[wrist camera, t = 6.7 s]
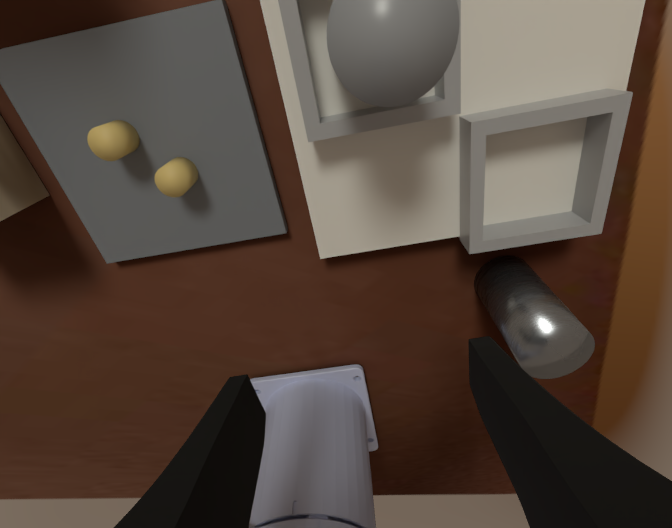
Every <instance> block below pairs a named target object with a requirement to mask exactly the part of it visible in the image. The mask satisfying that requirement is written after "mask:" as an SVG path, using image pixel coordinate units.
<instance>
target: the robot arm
mask: <svg viewBox="0 0 672 528" xmlns="http://www.w3.org/2000/svg"><path fill="white" fill-rule="evenodd" d="M355 376H359V377H355ZM469 376H470V386H471V389H472V392H473V395H474V398H475V401H476V404H477V407H478V410H479V413H480V415H481V418H482V420H483V422H484V424H485V426H486V429H487V431H488V433H489V435H490V437H491V439H492V441H493V444H494V446H495V448H496V450H497V452H498V454H499V456H500V459H501V461H502V463H503V465H504V467H505V469H506V471H507V473H508V476H509V478H510V480H511V482H512V484H513V486H514V488H515V491H516V493H517V495H518V498H519V500H520V502H521V505H522V507H523V510H524V513H525V515H526V518H527V521H528V523H529V526H530V528H672V481H670V480H669V479H667V478H666V477H664V476H662V475H661V474H659V473H658V472H656V471H655V470H653V469H651V468H650V467H648V466H647V465H645V464H644V463H642V462H640V461H639V460H637V459H636V458H635V457H633V456H632V455H630V454H629V453H627V452H626V451H624V450H623V449H621V448H620V447H618V446H617V445H616V444H614V443H613V442H611V441H610V440H609V439H607V438H606V437H604V436H603V435H602V434H600V433H599V432H597V431H596V430H595V429H594V428H592V427H591V426H590V425H588V424H587V423H586V422H584V421H583V420H582V419H580V418H579V417H578V416H577V415H575V414H574V413H573V412H572V411H570V410H569V409H568V408H567V407H566V406H564V405H563V404H562V403H561V402H559V401H558V400H557V399H556V398H555V397H553V396H552V395H551V394H550V393H549V392H548V391H547V390H545V389H544V388H543V387H542V386H541V385H540V384H539V383H538V382H536V381H535V380H534V379H533V378H532V377H531V376H530V375H529V374H528V373H526V372H525V371H524V370H523V369H522V368H521V367H520V366H519V365H518V364H517V363H516V362H515V361H514V360H513V359H512V358H511V357H510V356H509V355H508V354H507V353H506V352H505V351H504V350H503V349H502V348H501V347H500V346H499V345H498V344H497V343H496V342H495V341H494V340H493V339H492V338H491V337H489V336H487V337H480V338H474V339H469ZM377 449H378V441H377V436H376V431H375V426H374V421H373V416H372V411H371V406H370V401H369V396H368V391H367V386H366V381H365V376H364V371H363V368H362V366H360V365H356V364H355V365H347V366H340V367H333V368H325V369H318V370H311V371H303V372H296V373H289V374H281V375H274V376H267V377H260V378H253V379H251V380H250V379H249V377H248V375H241V376H234V377H230V378H229V379H228V381H227V382H226V384H225V385H224V386H223V388H222V389H221V391H220V392H219V394H218V395H217V397H216V398H215V400H214V401H213V403H212V404H211V406H210V407H209V409H208V410H207V412H206V413H205V415H204V416H203V418H202V419H201V421H200V422H199V424H198V425H197V426H196V428H195V429H194V431H193V432H192V434H191V435H190V436H189V438H188V439H187V441H186V442H185V443H184V445H183V446H182V447H181V449H180V450H179V451H178V453H177V454H176V455H175V457H174V458H173V459H172V461H171V462H170V463H169V465H168V466H167V467H166V469H165V470H164V471H163V472H162V474H161V475H160V476H159V477H158V479H157V480H156V481H155V482H154V484H153V485H152V486H151V487H150V488H149V489H148V491H147V492H146V493H145V494H144V495H143V496H142V498H141V499H140V500H139V501H138V502H137V503H136V504H135V506H134V507H133V508H132V509H131V510H130V511H129V512H128V513H127V514H126V515H125V516H124V517H123V519H122V520H121V521H120V522H119V523H118V524H117V525H116V526H115V527H114V528H376V524H375V514H374V503H373V491H372V481H371V470H370V459H369V451H375V450H377Z"/></svg>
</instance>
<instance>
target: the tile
mask: <svg viewBox="0 0 672 528" xmlns="http://www.w3.org/2000/svg"><path fill="white" fill-rule="evenodd" d="M0 84H1V85H2V87H3V89H4V90H5V92H6V94H7V96H8V97H9V99H10V101H11V102H12V104H13V106H14V107H15V109H16V111H17V112H18V114H19V116H20V117H21V119H22V121H23V123H24V124H25V126H26V128H27V129H28V131H29V133H30V134H31V136H32V138H33V139H34V141H35V143H36V144H37V146H38V148H39V150H40V151H41V153H42V155H43V156H44V158H45V160H46V161H47V163H48V165H49V166H50V168H51V170H52V171H53V173H54V175H55V177H56V178H57V180H58V182H59V183H60V185H61V187H62V188H63V190H64V192H65V193H66V195H67V197H68V198H69V200H70V202H71V204H72V205H73V207H74V209H75V210H76V212H77V214H78V215H79V217H80V219H81V220H82V222H83V224H84V226H85V227H86V229H87V231H88V232H89V234H90V236H91V237H92V239H93V241H94V242H95V244H96V246H97V247H98V249H99V251H100V253H101V254H102V256H103V258H104V259H105V261H106V263H113V262H119V261H125V260H131V259H136V258H142V257H148V256H154V255H160V254H166V253H172V252H178V251H184V250H190V249H196V248H202V247H208V246H213V245H219V244H225V243H231V242H237V241H243V240H249V239H255V238H261V237H267V236H273V235H279V234H284V233H287V229H288V227H287V223H286V220H285V216H284V212H283V209H282V205H281V202H280V198H279V194H278V191H277V187H276V183H275V180H274V176H273V172H272V169H271V165H270V161H269V158H268V154H267V150H266V147H265V143H264V139H263V136H262V132H261V128H260V125H259V121H258V118H257V114H256V110H255V107H254V103H253V99H252V96H251V92H250V88H249V85H248V81H247V77H246V74H245V70H244V66H243V63H242V59H241V55H240V52H239V48H238V45H237V41H236V37H235V34H234V30H233V26H232V23H231V19H230V15H229V12H228V8H227V4H226V1H225V0H215V1H211V2H206V3H202V4H197V5H193V6H188V7H184V8H180V9H175V10H171V11H166V12H162V13H157V14H153V15H149V16H144V17H140V18H135V19H131V20H127V21H122V22H118V23H113V24H109V25H104V26H100V27H96V28H91V29H87V30H82V31H78V32H73V33H69V34H65V35H60V36H56V37H51V38H47V39H43V40H38V41H34V42H29V43H25V44H20V45H16V46H12V47H7V48H3V49H0Z"/></svg>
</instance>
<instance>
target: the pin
mask: <svg viewBox="0 0 672 528" xmlns="http://www.w3.org/2000/svg"><path fill="white" fill-rule="evenodd" d="M474 287H475V290H476V292H477V294H478V296H479V297H480V299H481V301H482V303H483V304H484V306H485V308H486V309H487V311H488V313H489V314H490V316H491V318H492V319H493V321H494V323H495V324H496V326H497V328H498V330H499V331H500V333H501V335H502V336H503V338H504V340H505V341H506V343H507V345H508V346H509V348H510V350H511V352H512V353H513V355H514V357H515V358H516V360H517V362H518V363H519V365H520V367H521V368H522V369H523V370H524V371H525V372H526V373H528V374H529V375H530V376H532V377H535V378H540V379H551V378H557V377H561V376H564V375H567V374H569V373H571V372H573V371H575V370H577V369H578V368H580V367H581V366H582V365H583V364H585V363H586V362H587V361H588V359H589V358H590V357H591V355H592V353H593V351H594V347H595V342H594V338H593V336H592V335H591V334H590V333H589V331H588V330H587V329H586V328H585V327H584V326H583V325H582V324H581V323H580V321H579V320H578V319H577V318H576V317H575V316H574V315H573V314H572V313H571V312H570V310H569V309H568V308H567V307H566V306H565V305H564V304H563V303H562V302H561V300H560V299H559V298H558V297H557V296H556V295H555V294H554V293H553V292H552V291H551V289H550V288H549V287H548V286H547V285H546V284H545V283H544V282H543V281H542V279H541V278H540V277H539V276H538V275H537V274H536V273H535V272H534V271H533V269H532V268H531V267H530V266H529V265H528V264H527V263H526V262H525V261H524V260H523V259H521V258H519V257H516V256H501V257H497V258H495V259H492V260H490V261H489V262H487V263H486V264H485V265H483V266H482V267H481V268H480V270H479V271H478V273H477V274H476V277H475V280H474Z"/></svg>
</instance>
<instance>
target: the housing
mask: <svg viewBox="0 0 672 528" xmlns="http://www.w3.org/2000/svg"><path fill="white" fill-rule="evenodd" d="M48 196H49V193H48V191H47V190H46V188H45V186H44V185H43V183H42V182H41V180H40V178H39V177H38V175H37V173H36V172H35V170H34V169H33V167H32V165H31V164H30V162H29V160H28V159H27V157H26V156H25V154H24V152H23V151H22V149H21V147H20V146H19V144H18V143H17V141H16V139H15V138H14V136H13V134H12V133H11V131H10V130H9V128H8V126H7V125H6V123H5V121H4V120H3V118H2V117H1V115H0V221H2V220H4V219H6V218H8V217H10V216H12V215H13V214H15V213H17V212H19V211H21V210H23V209H25V208H27V207H29V206H30V205H32V204H34V203H36V202H38V201H40V200H42V199H44V198H46V197H48Z"/></svg>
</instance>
